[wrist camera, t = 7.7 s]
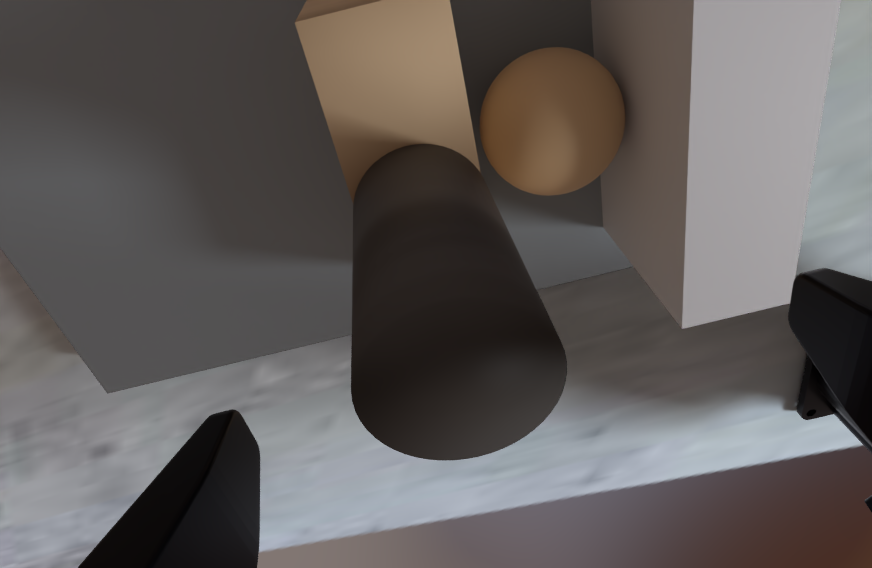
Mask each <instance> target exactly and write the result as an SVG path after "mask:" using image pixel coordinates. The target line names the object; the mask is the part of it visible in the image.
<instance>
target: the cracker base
mask: <svg viewBox="0 0 872 568" xmlns="http://www.w3.org/2000/svg"><path fill="white" fill-rule="evenodd" d="M306 1H307V0H0V248H1V249H2V251H3V252H4V254H5V255H6V256H7V258H8V259H9V260H10V262H11V263H12V264H13V266H14V267H15V268H16V270H17V271H18V273H19V274H20V275H21V277H22V278H23V279H24V281H25V282H26V283H27V285H28V286H29V288H30V289H31V290H32V292H33V293H34V294H35V296H36V297H37V298H38V300H39V301H40V302H41V304H42V305H43V307H44V308H45V309H46V311H47V312H48V313H49V315H50V316H51V317H52V319H53V320H54V321H55V323H56V324H57V326H58V327H59V328H60V330H61V331H62V332H63V334H64V335H65V336H66V338H67V339H68V341H69V342H70V343H71V345H72V346H73V347H74V349H75V350H76V351H77V353H78V354H79V355H80V357H81V358H82V360H83V361H84V362H85V364H86V365H87V366H88V368H89V369H90V370H91V372H92V373H93V374H94V376H95V377H96V379H97V380H98V381H99V383H100V384H101V385H102V387H103V388H104V389H105V391H106V392H107V393H111V392H115V391H120V390H124V389H128V388H132V387H136V386H140V385H144V384H149V383H153V382H157V381H161V380H165V379H169V378H173V377H178V376H182V375H186V374H190V373H194V372H198V371H203V370H207V369H211V368H215V367H219V366H223V365H227V364H232V363H236V362H240V361H244V360H248V359H252V358H257V357H261V356H265V355H269V354H273V353H277V352H281V351H286V350H290V349H294V348H298V347H302V346H306V345H310V344H315V343H319V342H323V341H327V340H331V339H335V338H340V337H344V336H348V335H352V265H353V202H352V199H351V196H350V193H349V190H348V187H347V184H346V180H345V177H344V174H343V171H342V168H341V165H340V162H339V159H338V156H337V152H336V149H335V146H334V143H333V140H332V137H331V134H330V131H329V128H328V125H327V121H326V118H325V115H324V112H323V109H322V106H321V103H320V100H319V97H318V93H317V90H316V87H315V84H314V81H313V78H312V75H311V72H310V69H309V65H308V62H307V59H306V56H305V53H304V50H303V47H302V44H301V41H300V38H299V34H298V31H297V28H296V25H295V21H296V19H297V17H298V15H299V13H300V12H301V10H302V8H303V6H304V4H305V2H306ZM450 4H451V10H452V15H453V21H454V27H455V32H456V38H457V43H458V49H459V55H460V60H461V66H462V71H463V77H464V82H465V88H466V94H467V99H468V105H469V110H470V116H471V122H472V127H473V133H474V138H475V144H476V150H477V155H478V161H479V166H480V172H481V175H482V176H483V178H484V180H485V182H486V184H487V186H488V189H489V191H490V193H491V195H492V197H493V199H494V201H495V203H496V206H497V208H498V210H499V212H500V214H501V216H502V218H503V220H504V222H505V225H506V227H507V229H508V231H509V233H510V235H511V237H512V239H513V241H514V244H515V246H516V248H517V250H518V252H519V254H520V256H521V258H522V260H523V263H524V265H525V267H526V269H527V271H528V273H529V275H530V277H531V279H532V282H533V284H534V286H535V288H536V290H539V289H543V288H547V287H551V286H555V285H560V284H564V283H568V282H572V281H576V280H580V279H584V278H589V277H593V276H597V275H601V274H605V273H609V272H613V271H618V270H622V269H626V268H630V267H634V268H635V269H636V270H637V272H638V273H639V274H640V276H641V277H642V278H643V279H644V281H645V282H646V283H647V285H648V286H649V287H650V288H651V290H652V291H653V292H654V294H655V295H656V296H657V297H658V299H659V300H660V301H661V303H662V304H663V305H664V306H665V308H666V309H667V310H668V312H669V313H670V314H671V316H672V317H673V318H674V319H675V321H676V322H677V323H678V325H679V326H680V327H681V328H682V329H684V328H688V327H692V326H697V325H701V324H705V323H709V322H713V321H718V320H722V319H726V318H730V317H734V316H739V315H743V314H747V313H751V312H755V311H760V310H764V309H768V308H772V307H776V306H781V305H785V304H789V303H790V300H791V294H792V287H793V282H794V279H795V275H796V269H797V263H798V257H799V251H800V245H801V239H802V233H803V227H804V221H805V215H806V209H807V203H808V197H809V191H810V185H811V179H812V173H813V167H814V161H815V155H816V149H817V143H818V137H819V131H820V125H821V119H822V113H823V107H824V101H825V95H826V89H827V83H828V77H829V71H830V65H831V59H832V53H833V47H834V41H835V35H836V29H837V23H838V17H839V11H840V5H841V0H450Z"/></svg>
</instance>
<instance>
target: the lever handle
mask: <svg viewBox="0 0 872 568" xmlns="http://www.w3.org/2000/svg"><path fill="white" fill-rule="evenodd" d="M295 25H296V28H297V31H298V34H299V38H300V41H301V44H302V47H303V50H304V53H305V56H306V59H307V62H308V65H309V69H310V72H311V75H312V78H313V81H314V84H315V87H316V90H317V93H318V97H319V100H320V103H321V106H322V109H323V112H324V115H325V118H326V121H327V125H328V128H329V131H330V134H331V137H332V140H333V143H334V146H335V149H336V152H337V156H338V159H339V162H340V165H341V168H342V171H343V174H344V177H345V180H346V184H347V187H348V190H349V193H350V196H351V199H352V202H353V265H352V358H351V394H352V402H353V405H354V408H355V411H356V413H357V415H358V417H359V419H360V421H361V422H362V424H363V425H364V426H365V428H366V429H367V430H368V431H369V432H370V433H371V434H372V435H373V436H374V437H375V438H376V439H378V440H379V441H380V442H382V443H383V444H385V445H387V446H388V447H390V448H392V449H394V450H396V451H399V452H401V453H404V454H407V455H410V456H414V457H418V458H424V459H431V460H460V459H468V458H473V457H479V456H482V455H486V454H489V453H492V452H495V451H498V450H500V449H503V448H505V447H507V446H509V445H511V444H513V443H515V442H517V441H518V440H520V439H522V438H523V437H525V436H526V435H528V434H529V433H530V432H532V431H533V430H534V429H535V428H536V427H538V426H539V425H540V424H541V423H542V422H543V421H544V420H545V419H546V417H547V416H548V415H549V414H550V413H551V411H552V410H553V408H554V407H555V405H556V404H557V402H558V400H559V398H560V396H561V394H562V391H563V388H564V385H565V381H566V375H567V361H566V356H565V351H564V348H563V346H562V343H561V341H560V339H559V337H558V334H557V332H556V330H555V328H554V326H553V324H552V322H551V320H550V317H549V315H548V313H547V311H546V309H545V307H544V305H543V303H542V301H541V298H540V296H539V294H538V292H537V290H536V288H535V286H534V284H533V282H532V279H531V277H530V275H529V273H528V271H527V269H526V267H525V265H524V263H523V260H522V258H521V256H520V254H519V252H518V250H517V248H516V246H515V244H514V241H513V239H512V237H511V235H510V233H509V231H508V229H507V227H506V225H505V222H504V220H503V218H502V216H501V214H500V212H499V210H498V208H497V206H496V203H495V201H494V199H493V197H492V195H491V193H490V191H489V189H488V186H487V184H486V182H485V180H484V178H483V176H482V175H481V172H480V166H479V161H478V155H477V150H476V144H475V138H474V133H473V127H472V122H471V116H470V110H469V105H468V99H467V94H466V88H465V82H464V77H463V71H462V66H461V60H460V55H459V49H458V43H457V38H456V32H455V27H454V21H453V15H452V10H451V4H450V0H307V1H306V2H305V4H304V6H303V8H302V10H301V12H300V13H299V15H298V17H297V19H296V21H295Z"/></svg>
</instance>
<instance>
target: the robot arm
mask: <svg viewBox="0 0 872 568" xmlns="http://www.w3.org/2000/svg"><path fill="white" fill-rule="evenodd" d="M788 320H789V324H790V327H791V329H792V331H793V333H794V334H795V336H796V337H797V339H798V340H799V342H800V343H801V345H802V346H803V348H804V349H805V351H806V353H807V354H808V356H807V361H806V366H805V371H804V376H803V381H802V386H801V391H800V396H799V401H798V406H797V412H798V414H799V415H800V416H801V417H802V418H803V419H805V420H810V419H814V418H818V417H823V416H827V415H831V414H835V415H836V416H837V417H838V418H839V419H840V421H841V422H842V423H843V424H844V425H845V426H846V427H847V428H848V429H849V430H850V431H851V432H852V433H853V434H854V435H855V436H856V437H857V438H858V440H859V441H860V442H861V443H862V444H863V445H864V446H865V447H866V448H867V449H868V450H869V451H870V452H871V453H872V281H868V280H865V279H862V278H858V277H855V276H851V275H848V274H844V273H841V272H838V271H834V270H831V269H827V268H822V269H817V270H813V271H808V272H804V273H801V274H799V275H797V276H796V278H795V279H794V282H793V287H792V294H791V300H790V306H789V312H788ZM865 503H866V504H867V506H868V507H869V509H870V510H871V512H872V495H871V496H870V497H869V498H868V499H866V500H865ZM259 535H260V451H259V447H258V444H257V442H256V440H255V438H254V436H253V434H252V433H251V431H250V429H249V427H248V426H247V424H246V422H245V420H244V419H243V417H242V415H241V414H240V413H239V412H238V411H237V410H228V411H224V412H220V413H215V414H213V415H211V416H209V417H208V418H207V419H206V420H205V421H204V423H203V424H202V425H201V426H200V427H199V428H198V429H197V431H196V432H195V433H194V434H193V435H192V436H191V437H190V439H189V440H188V441H187V442H186V443H185V444H184V446H183V447H182V448H181V449H180V450H179V451H178V452H177V454H176V455H175V456H174V457H173V458H172V459H171V461H170V462H169V463H168V464H167V465H166V466H165V467H164V469H163V470H162V471H161V472H160V473H159V474H158V476H157V477H156V478H155V479H154V480H153V481H152V482H151V484H150V485H149V486H148V487H147V488H146V489H145V491H144V492H143V493H142V494H141V495H140V496H139V497H138V499H137V500H136V501H135V502H134V503H133V504H132V506H131V507H130V508H129V509H128V510H127V511H126V512H125V514H124V515H123V516H122V517H121V518H120V519H119V521H118V522H117V523H116V524H115V525H114V526H113V527H112V529H111V530H110V531H109V532H108V533H107V534H106V535H105V537H104V538H103V539H102V540H101V541H100V542H99V544H98V545H97V546H96V547H95V548H94V549H93V550H92V552H91V553H90V554H89V555H88V556H87V557H86V559H85V560H84V561H83V562H82V563H81V564H80V565H79V567H78V568H257V562H258V552H259Z"/></svg>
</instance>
